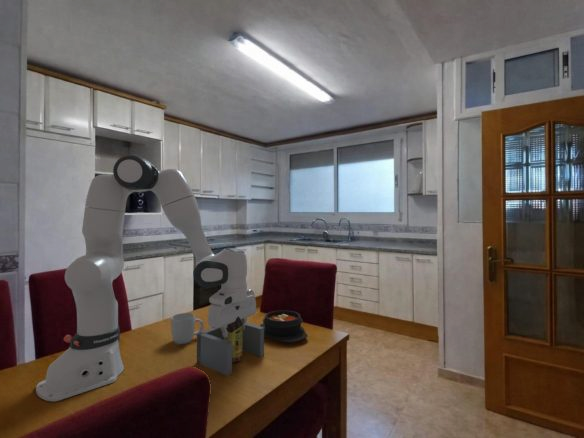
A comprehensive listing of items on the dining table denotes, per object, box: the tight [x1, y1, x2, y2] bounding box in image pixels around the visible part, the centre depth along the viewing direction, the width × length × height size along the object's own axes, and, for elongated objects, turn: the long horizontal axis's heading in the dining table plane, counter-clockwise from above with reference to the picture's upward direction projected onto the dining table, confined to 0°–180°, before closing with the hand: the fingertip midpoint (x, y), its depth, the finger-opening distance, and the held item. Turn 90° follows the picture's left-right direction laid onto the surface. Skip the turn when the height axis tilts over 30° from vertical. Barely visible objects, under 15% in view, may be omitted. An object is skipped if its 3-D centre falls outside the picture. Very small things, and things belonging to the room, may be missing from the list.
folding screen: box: [196, 322, 265, 376], centre depth 110 cm, size 18×15×10 cm
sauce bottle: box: [225, 306, 243, 364], centre depth 109 cm, size 6×6×20 cm
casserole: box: [259, 309, 308, 343], centre depth 131 cm, size 25×19×8 cm
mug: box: [170, 312, 205, 345], centre depth 125 cm, size 13×9×10 cm
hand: (233, 333), depth 109 cm, fingers closed on sauce bottle, 6 cm apart
